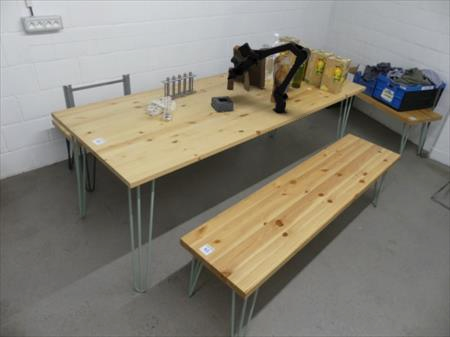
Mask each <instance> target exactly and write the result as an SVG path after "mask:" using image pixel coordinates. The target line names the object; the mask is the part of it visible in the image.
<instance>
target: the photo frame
mask: <svg viewBox="0 0 450 337" xmlns="http://www.w3.org/2000/svg"><path fill="white" fill-rule="evenodd" d="M240 46H241V45H234V47H233V49H232V51H233V56H235V55H236V56H238V57H239V58H240V59H241V60H242V61H243V60H245V59H247V58H248V57H249V56H248V57H246V58H245V57H244V58H243V57H242V55H241V54H240V52H239V51H238V48H239V47H240ZM251 49H252V50H255V49H253V48H251ZM233 56H232V57H233ZM266 61H267V57H266V58H264V59H262V60H260V65H259V66H258V67H257V66H256V65H254V66H253V67H251V68H250V69H249V71H248V72H247V73H243V75H241V76H239V77H238V78H236V79H235V80H234V83H237V84H238V83H239V84H242V85H244V90H245V91H246V92H249V89H250V87H251V88H254V89H255V88H256V89H258V90H261V91H262V90H264V88H265V87H266V86H265V85H266V64H267V62H266ZM235 66H236V65H235V64H233V68H235V69H236V67H235Z"/></svg>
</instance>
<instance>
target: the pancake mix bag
mask: <svg viewBox="0 0 450 337" xmlns="http://www.w3.org/2000/svg"><path fill="white" fill-rule="evenodd" d="M290 55H291V54H290V53H289V52H287V53H284V54H281V55H278V56H276V57H275V58H274V60H273V72H272V78H273V85H272V91H271V97H270V103H274V104H276V103H275V98H274V97H273V91H274V90H275V88H276V86H277V85H278V84H279V83H281V84H282V82H283V81H284V79H285V77H286V76H287V74H288V73H289V71H290V67H291V61H290V60H291V56H290ZM286 94H287V95H288V91H287V92H286Z"/></svg>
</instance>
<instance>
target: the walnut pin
mask: <svg viewBox="0 0 450 337" xmlns="http://www.w3.org/2000/svg"><path fill="white" fill-rule="evenodd" d="M232 68H234V66H231V67H228V71H229V70H230V69H232ZM228 71H227V72H228ZM229 75H230V74H229V72H228V74H227V77H228V76H229ZM234 85H235V81H234V79H230V80H228V79H227V83H226V90H228V91H234V87H235V86H234Z"/></svg>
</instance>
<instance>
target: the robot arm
mask: <svg viewBox="0 0 450 337" xmlns="http://www.w3.org/2000/svg"><path fill="white" fill-rule="evenodd" d="M239 46H240V47H239V48H238V51H239V52H240V54H241V55H242V57H243V58H244V57H245V58H246V57H248V56H249V57H248V58H247V59H245V60H243V61H242V60H241V59H240V58H239V57H238V56H236V55H235V56H232V57H231V58H230V62H231V63H232V64H233V65H234V64H235V65H236V66H235V67H236V69H235V68H234V67H233V68H232V69H230V70H229V69H228V70H227V72H229V74H230V75H229V76H228V75H227V78H226V79H227V81H228V80H230V79H234V80H235V79H236V78H238V77H239V76H241V75H243V73H247V72H248V71H249V69H250V68H251V67H253V66H254V65H256V66H257V67H258V66H259V65H260V60H262V59H264V58H266V59H267V58H268V57H270V56H274V55H277V54H280V53H281V54H282V53H284V52H288V51H289V52H290V53H292V54H293V55H294V56H295V59H294V63H293V65H292V66H291V67H292V68H291V69H290V71H289V73H288V74H287V76H286V77H285V79H284V81H283V82H282V84H281V83H279V84H278V85H277V86H276V88H275V90H274V91H273V97H274V98H275V103H274V104H275V106H274V108H272V111H274V112H275V113H276V114H285V113H288V111H286V107H287V102H288V100H289V97H290V96H289V95H288V90H287V89H288V85H289V84H290V85H291V82H292V81H293V80H294V78H295V76H296V74H297V73H298V71H299V70H300V69H301V67H302V66H303V64H304V63H305V62H306V61H308V59H309V58H310V57H311V55H312V52H311V49H310V48H308V47H304V46H302V45H300V44H298V43H296V42H295V41H289V42H287V43H283V44H279V45H275V46H273V47H272V46H271V47H261V48H259V49H254V50H252V49H253V48H251V46H250V44H249V43H248V42H245V43H243V44H242V45H239ZM286 92H287V94H286Z"/></svg>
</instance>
